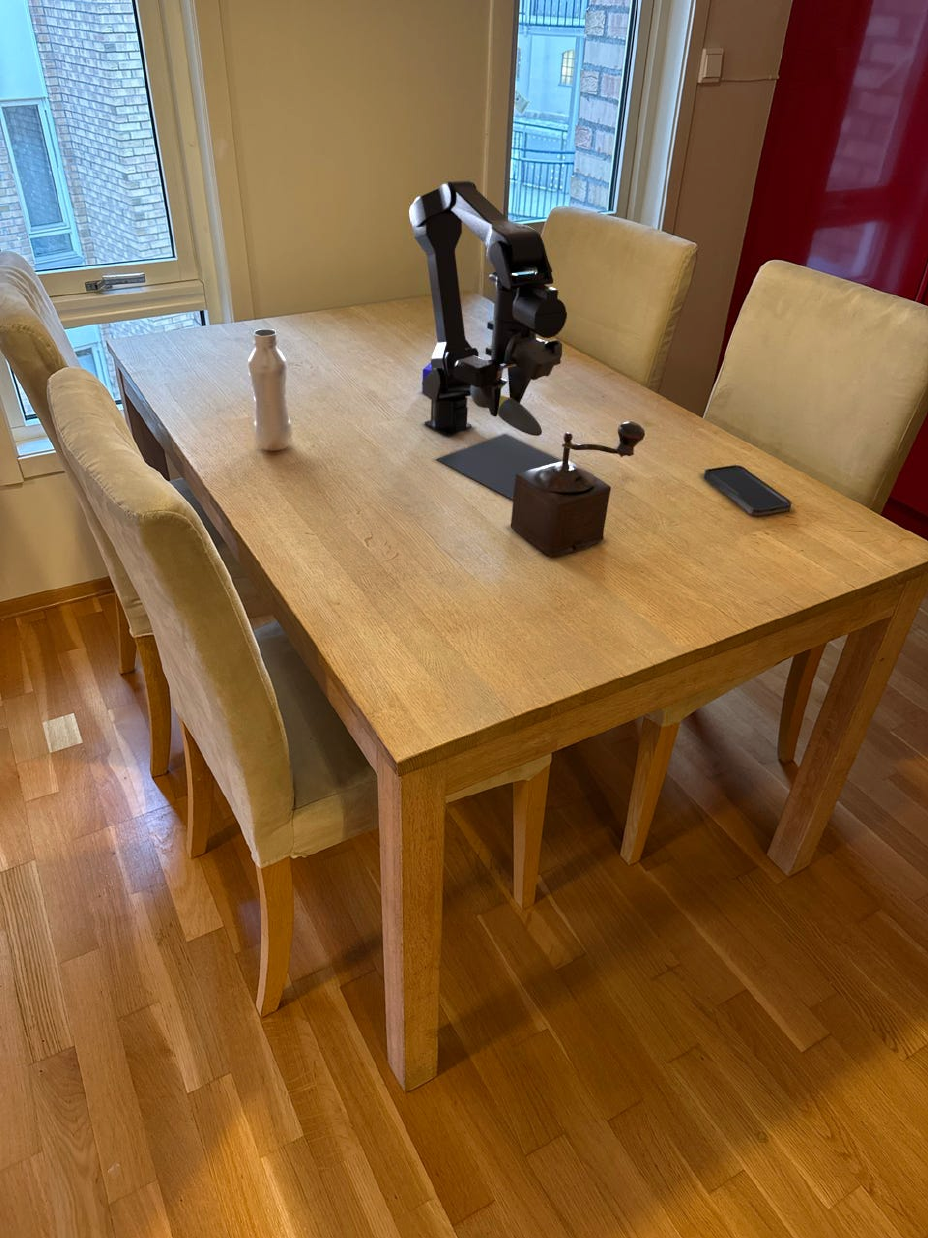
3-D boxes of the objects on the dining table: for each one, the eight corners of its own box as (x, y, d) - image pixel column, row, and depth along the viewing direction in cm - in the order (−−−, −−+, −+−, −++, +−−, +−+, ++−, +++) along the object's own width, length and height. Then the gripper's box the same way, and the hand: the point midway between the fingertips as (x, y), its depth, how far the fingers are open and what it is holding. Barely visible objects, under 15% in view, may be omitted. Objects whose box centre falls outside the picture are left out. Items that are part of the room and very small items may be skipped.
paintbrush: (557, 435, 144) (560, 406, 141) (534, 442, 142) (537, 413, 139) (478, 394, 156) (480, 366, 153) (456, 400, 154) (457, 372, 151)
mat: (435, 459, 155) (435, 458, 155) (505, 434, 165) (505, 433, 165) (518, 504, 144) (519, 503, 144) (587, 474, 154) (588, 473, 153)
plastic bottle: (300, 442, 158) (292, 329, 146) (281, 458, 153) (272, 341, 141) (267, 435, 160) (257, 323, 148) (247, 450, 154) (236, 335, 143)
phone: (739, 464, 157) (794, 503, 146) (738, 470, 157) (792, 510, 146) (701, 469, 154) (754, 510, 143) (700, 475, 155) (753, 517, 144)
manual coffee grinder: (552, 561, 130) (567, 447, 120) (508, 527, 137) (518, 417, 127) (632, 535, 137) (652, 425, 127) (586, 504, 145) (601, 398, 134)
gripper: (505, 344, 129) (497, 444, 138) (590, 320, 140) (577, 414, 149) (453, 322, 136) (449, 419, 145) (538, 302, 146) (529, 393, 155)
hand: (504, 412), depth 148 cm, fingers closed on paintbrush, 4 cm apart
